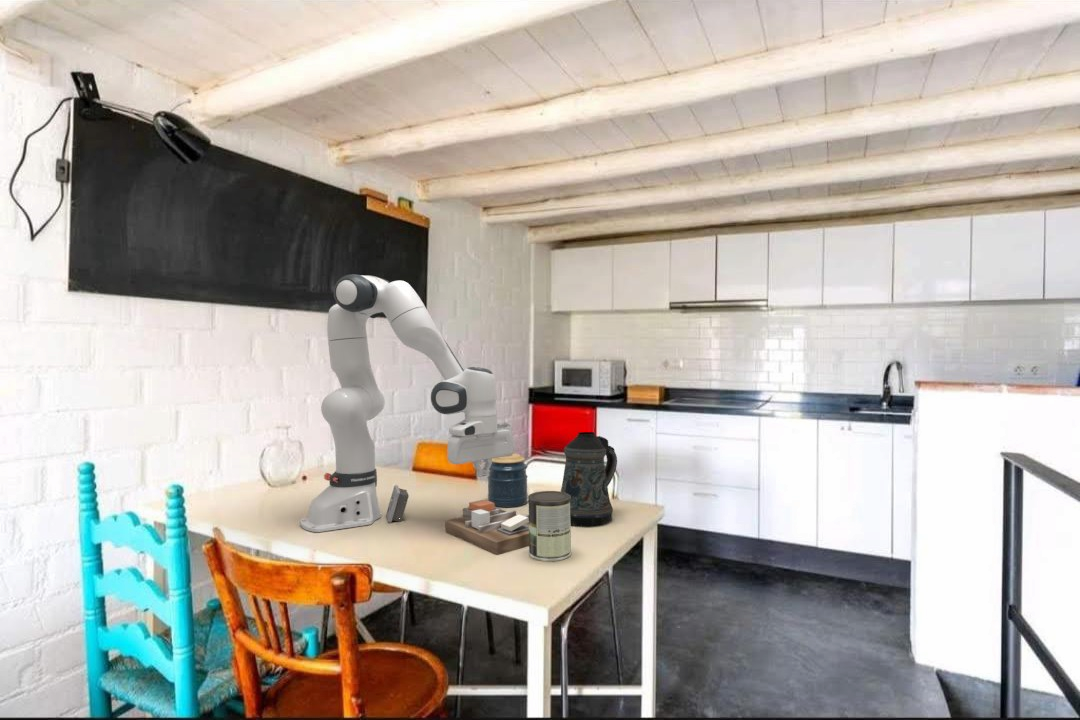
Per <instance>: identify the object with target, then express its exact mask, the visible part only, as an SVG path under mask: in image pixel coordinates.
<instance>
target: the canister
mask: <svg viewBox="0 0 1080 720" xmlns="http://www.w3.org/2000/svg"><path fill="white" fill-rule="evenodd" d="M525 460H526V459H525V457H523V456H522V455H521V454H519V453H513V455H510V456H504V457H499V458H493V459H492V464H491V466H490V468H489V475H488V476H486V477H487V493H488V494H487V501H490V502H493V503H494V507H496V508H517V507H520V506H524V505H526V504H527V503H528V496H529V494H528V475H527V471H526V470H527V469H528V465H527V464H526V463H525Z"/></svg>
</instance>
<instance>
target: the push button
mask: <svg viewBox="0 0 1080 720" xmlns="http://www.w3.org/2000/svg"><path fill="white" fill-rule="evenodd" d="M468 507H469V510H472V511H474V510H479V509H482V510H485V511H491V510H494V507H495V506H494V503H493V502H490V501H488V499H481V500H475V501H471V502H468Z"/></svg>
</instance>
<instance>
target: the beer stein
mask: <svg viewBox="0 0 1080 720" xmlns="http://www.w3.org/2000/svg"><path fill="white" fill-rule="evenodd" d="M563 448H564V449H563V451H564V456H565V464H564V470H563V478H562V484H561V489H560V492H565V493H568V494H569V495H570V496H571V500H570V517H571V527H577V528H578V527H579V528H581V527H582V528H592V527H600V526H604V525H607V524H609V523H611V521H612V515H613V512H614V507H613V506H612V502H611V499H610V496H609V494H610V493H609V488H608V487H609V485H610V483H611V481H612V480H613V477H614V475H615V474H616V470H617V466H618V457H617V454H616V452H615V448H614V447H612V446H611V445H609V440H608V439H607V438H606V437H603V436H601V435H599V436H598V435H596V433H595V432H592V431H584V432H583V431H581V432H577V435H576V437H575V438H574V439H572V440H571V441H570V442H569V443H568V444H566V445H565V447H563ZM605 457H606V464H605Z"/></svg>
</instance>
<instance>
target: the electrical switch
mask: <svg viewBox="0 0 1080 720" xmlns="http://www.w3.org/2000/svg"><path fill="white" fill-rule="evenodd" d="M408 500H409V493H408V490H407V489H403V488H399V485H396V484H395V485H394V486H393V490H392V493H391V496H390V499H389V503H388V507H387V510H386V517H387V519H386V520H387V522H388V523H390V524H392V522H393V521H394V522H403V517H404V515H405V511H406V507H407V504H408V503H407V502H408ZM399 518H400V519H399Z"/></svg>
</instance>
